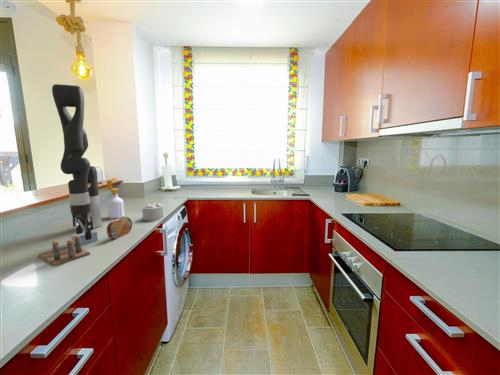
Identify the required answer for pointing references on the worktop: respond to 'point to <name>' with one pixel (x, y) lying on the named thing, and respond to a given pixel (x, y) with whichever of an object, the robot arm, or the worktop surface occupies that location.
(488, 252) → the worktop surface
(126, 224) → the tin
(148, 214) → the lumpy-topped squat cylinder
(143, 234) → the worktop surface
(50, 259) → the board
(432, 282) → the worktop surface
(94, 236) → the rectangular block
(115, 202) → the soap bottle
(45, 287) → the worktop surface
